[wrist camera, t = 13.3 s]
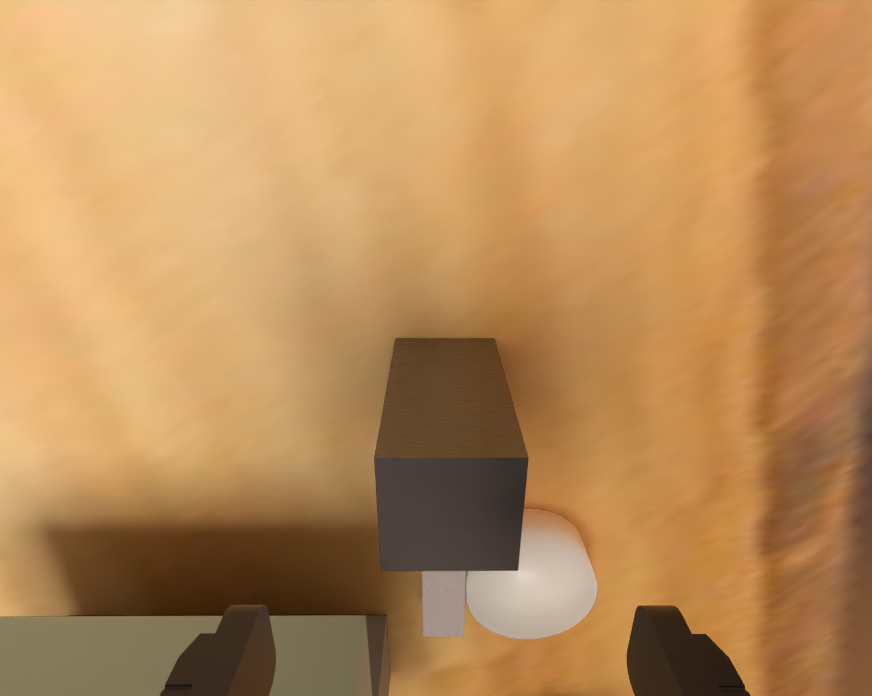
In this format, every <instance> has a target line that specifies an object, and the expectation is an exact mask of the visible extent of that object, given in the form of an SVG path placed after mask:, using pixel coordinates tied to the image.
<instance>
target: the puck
mask: <svg viewBox="0 0 872 696" xmlns="http://www.w3.org/2000/svg"><path fill="white" fill-rule="evenodd" d="M597 588H598V587H597V581H596V577H595V574H594V572H593V569H592V566H591V563H590V560H589V558H588V555H587V552H586V549H585V546H584V544H583V541H582V538H581V536H580V534H579V532H578V531H577V529H576V528H575V527H574V526H573V525H572V524H571V523H570V522H569V521H568V520H566V519H565V518H563V517H562V516H560V515H558V514H555V513H553V512H550V511H546V510H541V509H532V508H524V511H523V522H522V533H521V544H520V556H519V567H518V571H466V598H467V604H468V608H469V610H470V612H471V614H472V615H473V617H474V618H475V619H476V620H477V621H478V622H479V623H480V624H481V625H482V626H483V627H485V628H486V629H488V630H490V631H492V632H494V633H496V634H499V635H502V636H505V637H509V638H515V639H538V638H545V637H549V636H553V635H556V634H559V633H561V632H563V631H566V630H568V629H569V628H571V627H573V626H574V625H576V624H577V623H579V622H580V621H581V620H582V619H583V618H584V617H585V616H586V615H587V614H588V613H589V612H590V610H591V608H592V607H593V605H594V603H595V600H596V596H597Z"/></svg>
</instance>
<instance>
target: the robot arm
mask: <svg viewBox="0 0 872 696" xmlns="http://www.w3.org/2000/svg"><path fill="white" fill-rule="evenodd" d="M275 667H276V649H275V644H274V639H273V633H272V628H271V623H270V617H269V612H268V608H267V606H266V605H230V606H229V607H228V608H227V609H226V611H225V613H224V615H223V617H222V619H221V622H220V624H219V626H218V628H217V631H216V633H200V634H199V635H198V636H197V637H196V639H195V640H194V641H193V642H192V643H191V644H190V645H189V646H188V647H187V648H186V649H185V651H184V652H183V653H182V654H181V655H180V656H179V657H178V659H177V661H176V663H175V665H174V667H173V669H172V671H171V673H170V675H169V678H168V680H167V682H166V684H165V688H164V690H162V692H161V694H160V696H269V694H270V691H271V687H272V684H273V679H274V674H275ZM627 668H628V674H629V679H630V683H631V686H632V689H633V692H634V695H635V696H750V694H749V692H746V690H745V685H744V684H743V682H742V680H741V678H740V676H739V675H738V673H737V671H736V669H735V668H734V666H733V664H732V662H731V660H730V659H729V657H728V656H727V655H726V654H725V653H724V652H723V651H722V650H721V649H720V648H719V647H718V646H717V645H716V644H715V643H714V642H713V641H712V640H711V639H710V638H709V637H708V636H707V635H706V634H692V633H691V631H690V629H689V627H688V626H687V624H686V622H685V620H684V618H683V616H682V614H681V612H680V611H679V609H678V608H677V607H675V606H638V607H637V609H636V612H635V617H634V621H633V626H632V631H631V636H630V640H629V645H628V650H627Z"/></svg>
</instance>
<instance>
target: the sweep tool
mask: <svg viewBox="0 0 872 696" xmlns="http://www.w3.org/2000/svg"><path fill="white" fill-rule="evenodd" d="M374 461H375V478H376V495H377V512H378V528H379V545H380V562H381V571H422V602H423V637H464V616H465V586H466V571H518V567H519V556H520V544H521V533H522V522H523V511H524V500H525V489H526V478H527V467H528V455H527V451H526V448H525V444H524V441H523V437H522V434H521V430H520V427H519V423H518V420H517V416H516V413H515V409H514V406H513V402H512V399H511V395H510V392H509V388H508V385H507V382H506V378H505V375H504V371H503V368H502V364H501V361H500V357H499V354H498V350H497V347H496V343H495V340H494V339H395V345H394V350H393V356H392V362H391V367H390V373H389V378H388V384H387V390H386V395H385V401H384V406H383V412H382V418H381V423H380V429H379V434H378V440H377V446H376V451H375V457H374Z"/></svg>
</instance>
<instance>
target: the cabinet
mask: <svg viewBox="0 0 872 696" xmlns="http://www.w3.org/2000/svg"><path fill="white" fill-rule="evenodd" d="M222 617H223V616H26V617H0V696H160V694H161V692H162V690H164V688H165V684H166V682H167V680H168V678H169V675H170V673H171V671H172V669H173V667H174V665H175V663H176V661H177V659H178V657H179V656H180V655H181V654H182V653H183V652H184V651H185V649H186V648H187V647H188V646H189V645H190V644H191V643H192V642H193V641H194V640H195V639H196V637H197V636H198V635H199V634H200V633H216V631H217V628H218V626H219V624H220V622H221V619H222ZM269 617H270V623H271V628H272V633H273V639H274V644H275V649H276V667H275V674H274V679H273V684H272V687H271V691H270V694H269V696H388V695H389V682H390V667H389V651H388V634H387V618H386V615H283V616H269Z"/></svg>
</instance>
